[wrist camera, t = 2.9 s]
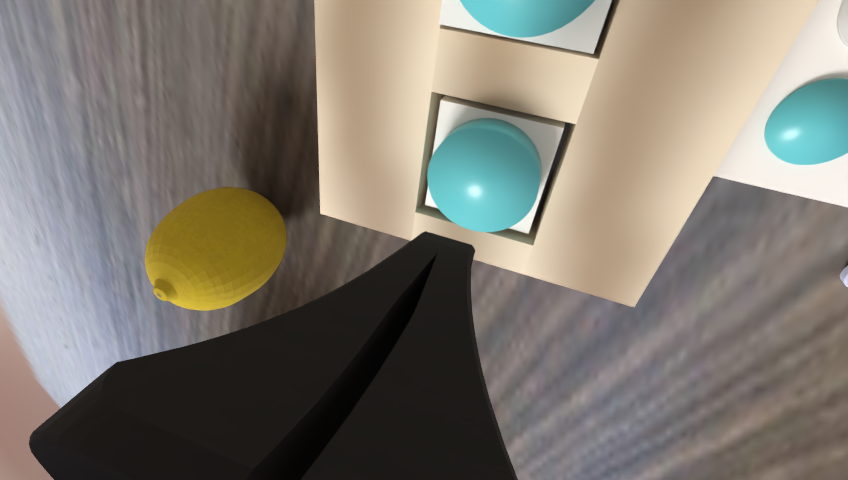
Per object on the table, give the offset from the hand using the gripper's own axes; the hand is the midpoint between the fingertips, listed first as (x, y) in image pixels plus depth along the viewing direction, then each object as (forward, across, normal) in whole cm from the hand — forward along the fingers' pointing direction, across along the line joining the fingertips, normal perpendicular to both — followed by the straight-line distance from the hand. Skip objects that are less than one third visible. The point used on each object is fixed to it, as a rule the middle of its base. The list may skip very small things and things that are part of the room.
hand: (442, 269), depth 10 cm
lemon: (+9, +12, +7) cm, 17 cm away
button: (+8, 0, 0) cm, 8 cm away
